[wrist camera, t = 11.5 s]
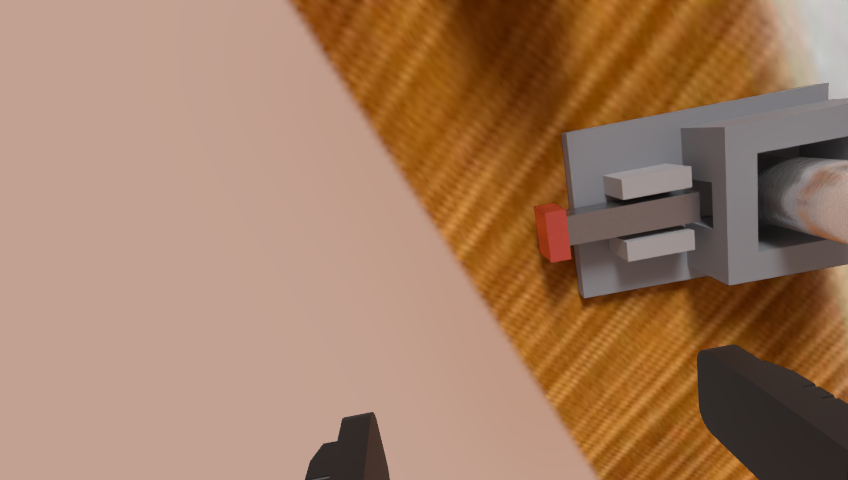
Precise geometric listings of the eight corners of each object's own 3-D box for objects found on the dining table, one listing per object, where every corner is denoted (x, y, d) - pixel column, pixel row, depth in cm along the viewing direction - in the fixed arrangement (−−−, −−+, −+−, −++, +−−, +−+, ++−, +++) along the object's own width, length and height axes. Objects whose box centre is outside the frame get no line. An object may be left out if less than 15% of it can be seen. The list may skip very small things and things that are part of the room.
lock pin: (680, 178, 27) (706, 182, 25) (683, 225, 28) (708, 233, 26) (533, 206, 28) (544, 213, 25) (539, 251, 28) (551, 262, 26)
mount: (814, 84, 28) (898, 74, 23) (810, 250, 30) (886, 273, 25) (561, 133, 28) (591, 133, 23) (578, 293, 31) (609, 323, 26)
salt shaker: (784, 149, 28) (1034, 159, 16) (784, 211, 28) (1020, 260, 17) (720, 161, 28) (924, 179, 17) (722, 222, 29) (917, 279, 17)
